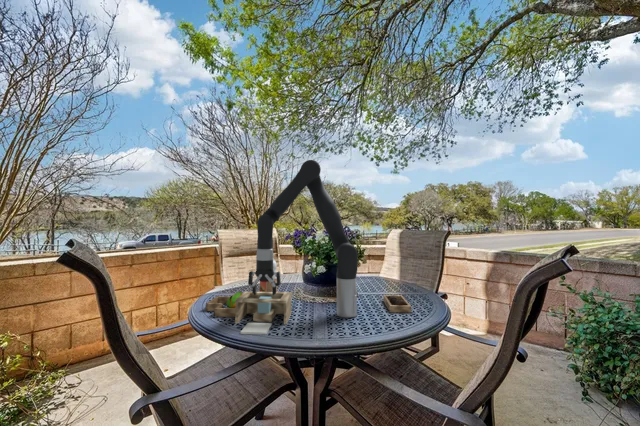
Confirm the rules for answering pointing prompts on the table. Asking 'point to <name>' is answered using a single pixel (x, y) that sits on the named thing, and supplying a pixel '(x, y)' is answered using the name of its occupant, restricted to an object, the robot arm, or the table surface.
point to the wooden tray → (397, 307)
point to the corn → (233, 300)
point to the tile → (256, 328)
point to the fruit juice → (267, 285)
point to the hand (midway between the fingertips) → (264, 294)
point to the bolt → (396, 301)
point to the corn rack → (220, 307)
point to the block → (264, 306)
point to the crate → (250, 302)
